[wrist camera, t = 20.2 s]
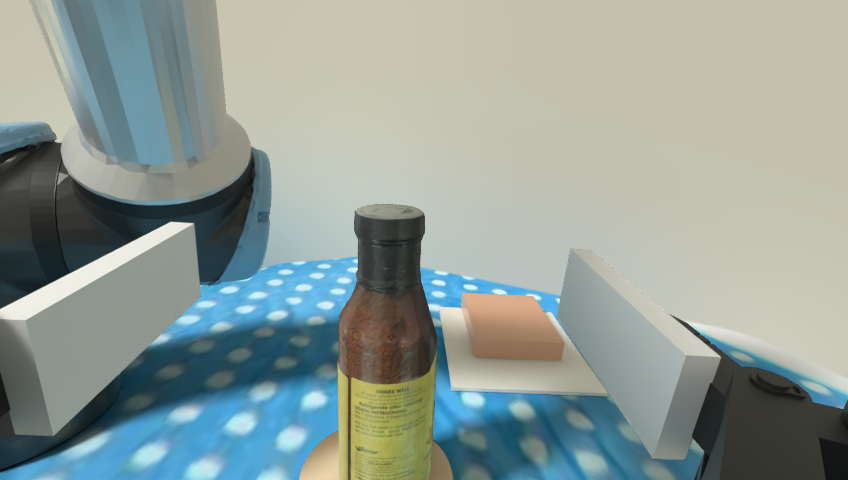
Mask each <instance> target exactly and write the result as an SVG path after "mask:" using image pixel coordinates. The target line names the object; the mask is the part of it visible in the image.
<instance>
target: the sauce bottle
mask: <svg viewBox="0 0 848 480" xmlns="http://www.w3.org/2000/svg"><path fill="white" fill-rule="evenodd" d="M354 231H355V234H356V236H357V238H358V270H357V272H356V274H357V275H356V277H357V283H356V287H355V289H354V291H353V294H352V296H351V298H350V299H349V300H348V302H347V303H346V305H345V307H344V308H343V310H342V312H341V314H340V316H339V319H340V321H339V330H338V332H339V356H338V361H337V364H338V416H339V475H340V480H429V477H430V472H431V454H432V438H433V420H434V407H435V406H434V404H435V401H434V395H435V381H436V379H435V377H436V364H437V336H436V332H435V329H434V325H433V321H432V318H431V314H430V311H429V307H428V304H427V300H426V297H425V293H424V290H423V286H422V283H421V273H420V255H421V240H422V238H423V235H424V233H425V216H424V213H423V212H422V211H421V210H420V209H418V208H415V207H412V206H405V205H393V204H375V205H367V206H363V207H360V208H358V209H357V210H356V211H355V219H354Z"/></svg>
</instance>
